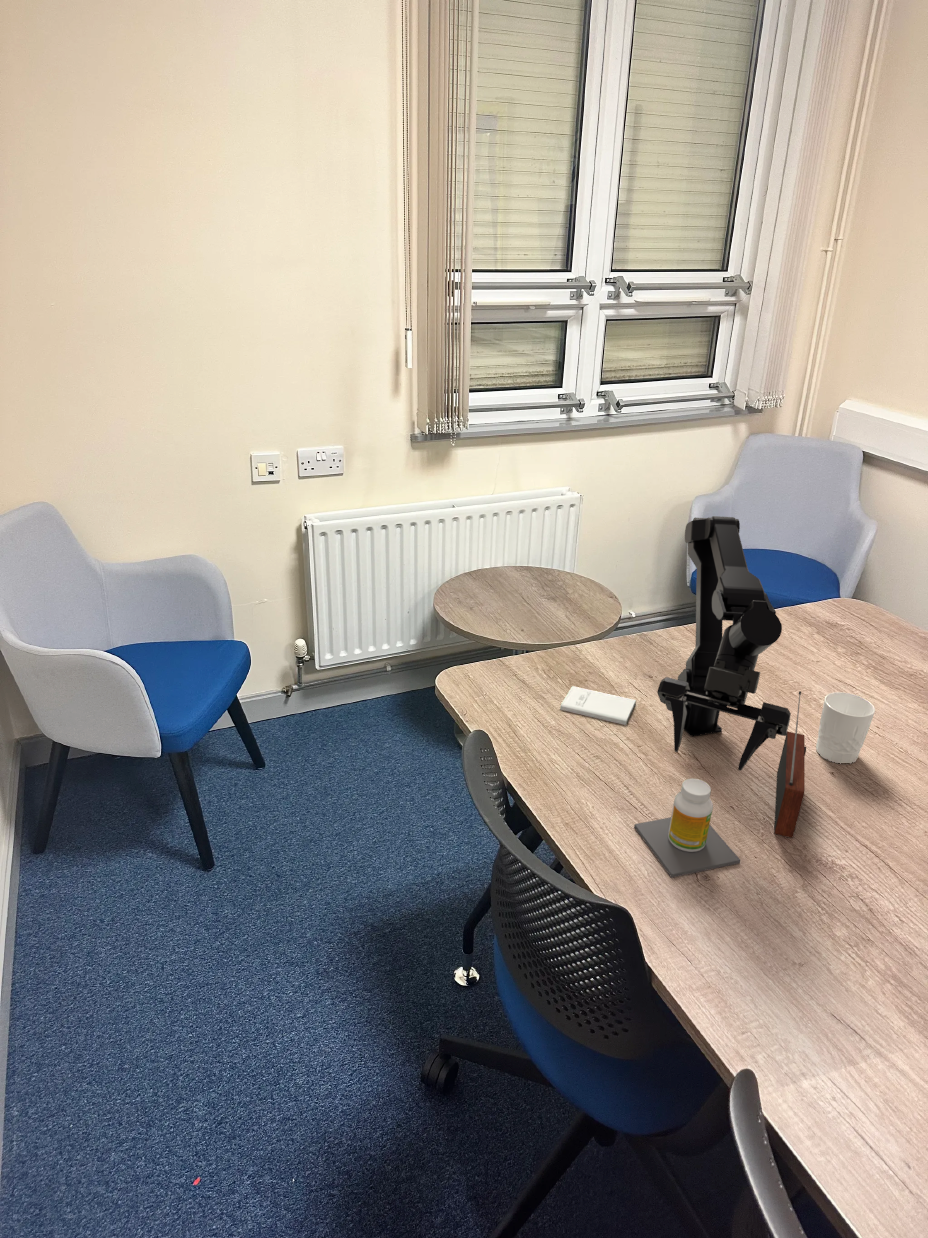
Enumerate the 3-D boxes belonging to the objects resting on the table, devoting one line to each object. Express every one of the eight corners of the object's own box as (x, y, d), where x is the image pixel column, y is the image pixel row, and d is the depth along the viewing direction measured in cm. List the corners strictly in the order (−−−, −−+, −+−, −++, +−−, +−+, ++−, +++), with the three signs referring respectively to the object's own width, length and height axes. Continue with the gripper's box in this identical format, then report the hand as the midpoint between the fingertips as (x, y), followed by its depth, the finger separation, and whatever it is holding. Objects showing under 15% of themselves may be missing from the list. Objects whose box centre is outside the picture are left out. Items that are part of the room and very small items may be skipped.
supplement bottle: (706, 856, 119) (717, 801, 115) (668, 850, 120) (677, 795, 116) (704, 831, 124) (715, 778, 120) (667, 826, 125) (676, 772, 121)
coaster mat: (698, 815, 128) (698, 812, 128) (739, 863, 119) (740, 860, 119) (634, 827, 125) (634, 824, 125) (671, 877, 116) (672, 874, 116)
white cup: (861, 747, 146) (875, 698, 142) (860, 771, 140) (874, 721, 136) (813, 736, 149) (826, 687, 145) (810, 759, 143) (823, 709, 139)
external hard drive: (625, 728, 151) (559, 712, 155) (635, 706, 158) (571, 691, 162) (626, 720, 150) (560, 704, 154) (636, 699, 157) (572, 684, 161)
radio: (795, 840, 124) (817, 756, 117) (773, 834, 125) (794, 751, 118) (796, 771, 140) (815, 693, 133) (777, 767, 141) (795, 690, 134)
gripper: (669, 628, 122) (638, 728, 118) (803, 660, 115) (774, 767, 111) (675, 654, 132) (647, 747, 128) (799, 685, 125) (773, 784, 120)
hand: (707, 760), depth 122 cm, fingers open, 9 cm apart
